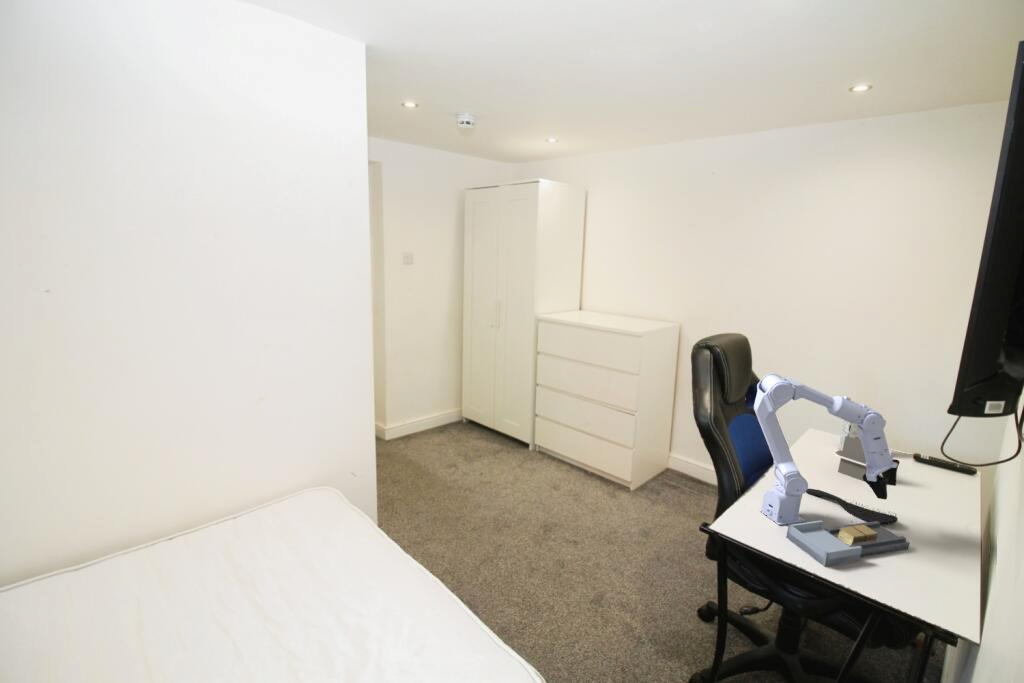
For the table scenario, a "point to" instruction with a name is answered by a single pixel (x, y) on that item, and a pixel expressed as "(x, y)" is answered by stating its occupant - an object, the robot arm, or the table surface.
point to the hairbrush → (858, 509)
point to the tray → (822, 544)
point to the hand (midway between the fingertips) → (886, 491)
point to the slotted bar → (879, 546)
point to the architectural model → (852, 458)
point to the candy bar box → (848, 432)
